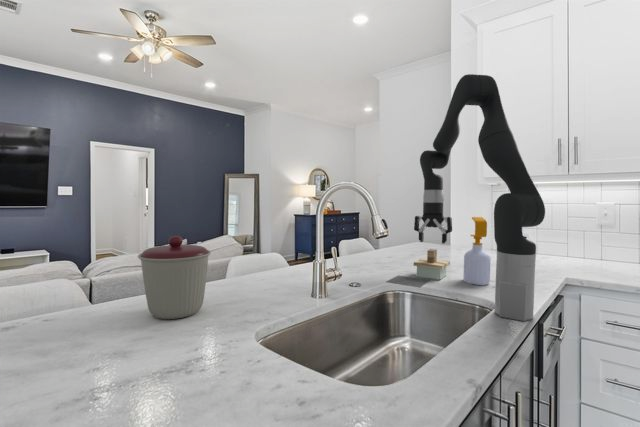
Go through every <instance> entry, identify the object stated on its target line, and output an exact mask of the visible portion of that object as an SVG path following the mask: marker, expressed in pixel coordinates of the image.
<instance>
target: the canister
mask: <svg viewBox="0 0 640 427" xmlns="http://www.w3.org/2000/svg"><path fill="white" fill-rule="evenodd" d="M183 241H184V240H183V238H182V237H181V236H179V235H173V236H171V237H169V239H168V244H167V245H161V246H154V247H150V248H147V249H144V251H142V252H141V253H139V254H138V255H137V258H138V259H139V260H140V262H141V271H142V280H143V285H144V292H145V298H146V304H147V309H148V311H149V314H150V315H151V316H153V317H154V318H156V319H160V320H161V319H162V320H176V319H181V318H186V317H187V318H188V317H190V316H193V315H195V314H196V313H198V312H199V311H200V310H201V308H202V307H203V304H204V298H205V293H206V292H205V291H206V283H207V274H208V266H209V264H208V263H209V256H210V255H211V253H212V252H211V250H210V249H207V248H206V247H204V246H201V245H195V244H183Z"/></svg>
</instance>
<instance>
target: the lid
mask: <svg viewBox="0 0 640 427" xmlns="http://www.w3.org/2000/svg"><path fill="white" fill-rule="evenodd" d="M426 251H427V253H426V257H427V258H421V259H418V260H416V261H414V262H413V267H417V266H420V267H429V268H437V269H443V268H445V267H446V268H447V267H448V266H450V264H451V262H450V261H448V260H440V259H439V260H438V259H437V256H438V255H437V254H438V249H433V248H430V249H428V250H426Z"/></svg>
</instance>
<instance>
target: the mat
mask: <svg viewBox="0 0 640 427" xmlns="http://www.w3.org/2000/svg"><path fill="white" fill-rule="evenodd" d="M430 281H431V279H426V278H419V277H411V276H405V275H396V276H394V277H392V278H390V279H389V280H387V281H385V282H386V283H387V284H388V283H389V284H396V285H401V286H408V287H415V288H422V287H424V286H425V285H426V284H427V283H429V282H430Z"/></svg>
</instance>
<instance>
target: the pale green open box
mask: <svg viewBox="0 0 640 427" xmlns="http://www.w3.org/2000/svg"><path fill="white" fill-rule="evenodd" d="M445 277H447V267H445V268H443V269H437V268H429V267H420V266H416V278H420V279H427V280H434V281H442V280H443V279H444V278H445Z"/></svg>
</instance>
